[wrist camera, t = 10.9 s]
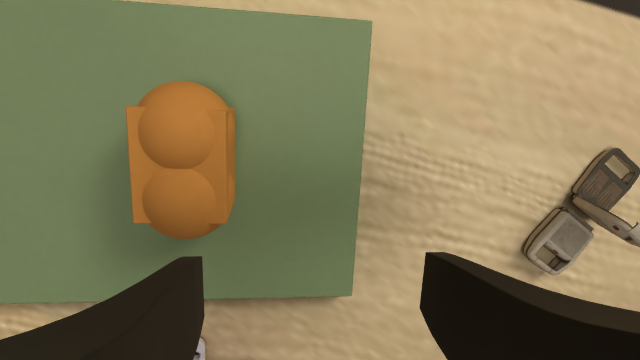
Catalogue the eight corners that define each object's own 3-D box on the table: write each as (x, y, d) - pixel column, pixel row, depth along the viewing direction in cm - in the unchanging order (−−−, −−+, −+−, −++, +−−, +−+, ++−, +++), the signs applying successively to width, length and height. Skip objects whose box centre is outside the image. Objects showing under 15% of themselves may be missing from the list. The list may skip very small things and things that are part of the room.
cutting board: (347, 285, 22) (352, 296, 21) (-15, 293, 20) (-33, 305, 18) (366, 25, 19) (372, 20, 18) (-66, -9, 16) (-92, -18, 15)
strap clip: (546, 273, 24) (603, 311, 20) (516, 250, 23) (569, 283, 19) (635, 170, 23) (715, 187, 19) (607, 142, 22) (683, 153, 18)
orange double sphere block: (239, 221, 19) (230, 254, 15) (156, 220, 19) (123, 255, 15) (239, 85, 18) (229, 81, 14) (148, 80, 17) (109, 75, 13)
